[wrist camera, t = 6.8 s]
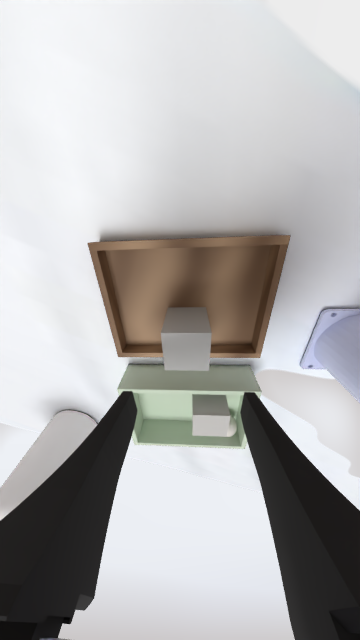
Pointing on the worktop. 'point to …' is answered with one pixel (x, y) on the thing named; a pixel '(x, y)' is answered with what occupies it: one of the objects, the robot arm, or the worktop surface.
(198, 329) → the stone
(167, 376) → the green bin
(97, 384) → the worktop surface
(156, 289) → the walnut tray
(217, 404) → the grey rectangular block
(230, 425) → the white ball
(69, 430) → the pill bottle
